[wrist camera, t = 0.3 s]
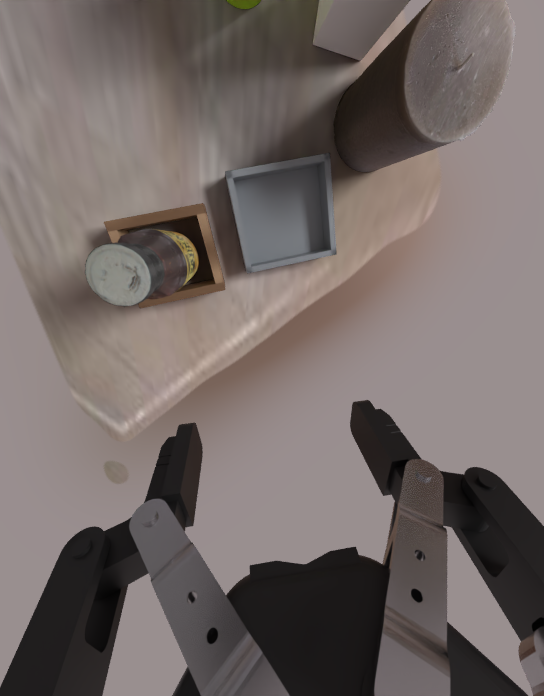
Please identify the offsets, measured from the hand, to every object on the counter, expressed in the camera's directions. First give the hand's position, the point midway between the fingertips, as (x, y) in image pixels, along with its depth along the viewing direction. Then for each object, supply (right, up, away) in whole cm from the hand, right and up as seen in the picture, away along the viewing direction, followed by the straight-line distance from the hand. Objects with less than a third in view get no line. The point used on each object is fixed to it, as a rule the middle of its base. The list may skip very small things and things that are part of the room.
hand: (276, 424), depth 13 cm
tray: (+1, +21, +22) cm, 31 cm away
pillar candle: (+12, +32, +20) cm, 39 cm away
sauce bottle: (-13, +16, +22) cm, 30 cm away
